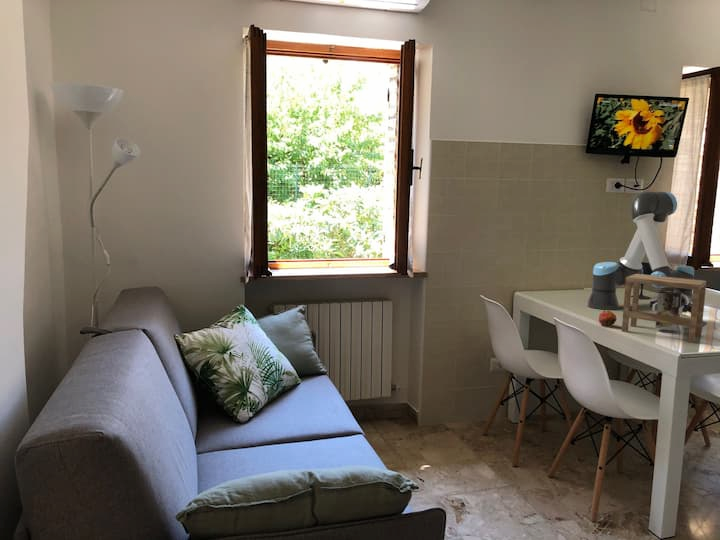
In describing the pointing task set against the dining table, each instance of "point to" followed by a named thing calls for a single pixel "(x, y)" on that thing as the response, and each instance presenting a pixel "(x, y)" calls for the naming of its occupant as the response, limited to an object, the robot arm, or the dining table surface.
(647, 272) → the wine glass
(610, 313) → the pomegranate
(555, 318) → the dining table surface
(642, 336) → the dining table surface
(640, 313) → the walnut table
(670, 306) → the coffee box
